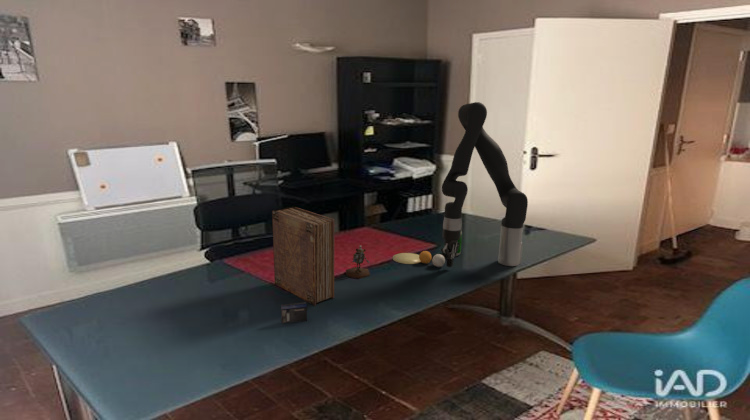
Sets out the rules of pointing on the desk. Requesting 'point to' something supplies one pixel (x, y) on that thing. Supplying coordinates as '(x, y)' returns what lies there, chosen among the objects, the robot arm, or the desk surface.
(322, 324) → the desk surface
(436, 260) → the cue ball
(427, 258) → the orange ball
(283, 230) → the book
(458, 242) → the soda can
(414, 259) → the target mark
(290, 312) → the mini dv tape
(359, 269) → the robot figurine
